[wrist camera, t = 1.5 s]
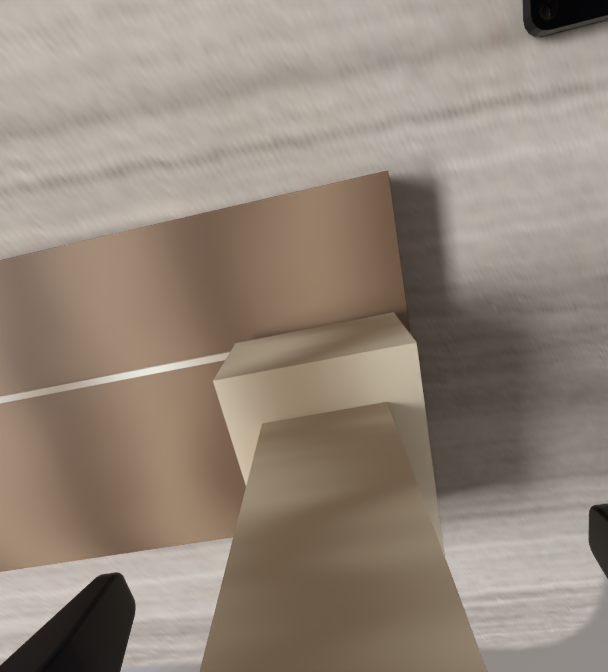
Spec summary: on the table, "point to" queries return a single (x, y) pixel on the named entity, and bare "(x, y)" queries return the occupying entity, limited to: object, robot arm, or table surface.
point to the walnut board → (164, 362)
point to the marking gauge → (335, 511)
